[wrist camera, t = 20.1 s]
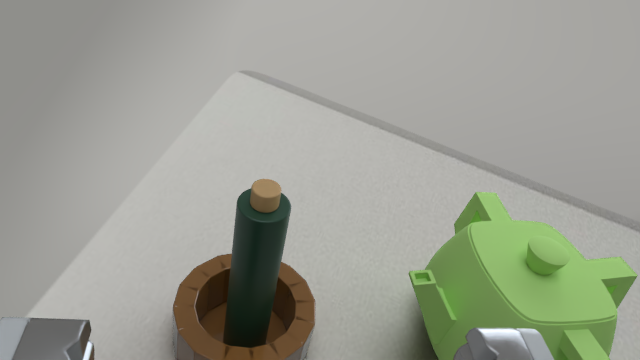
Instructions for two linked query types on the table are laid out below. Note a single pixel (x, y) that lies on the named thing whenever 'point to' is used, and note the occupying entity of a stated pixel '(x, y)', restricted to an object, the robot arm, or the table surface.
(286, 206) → the green tube with cork
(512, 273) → the teapot
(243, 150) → the table surface
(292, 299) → the bowl
